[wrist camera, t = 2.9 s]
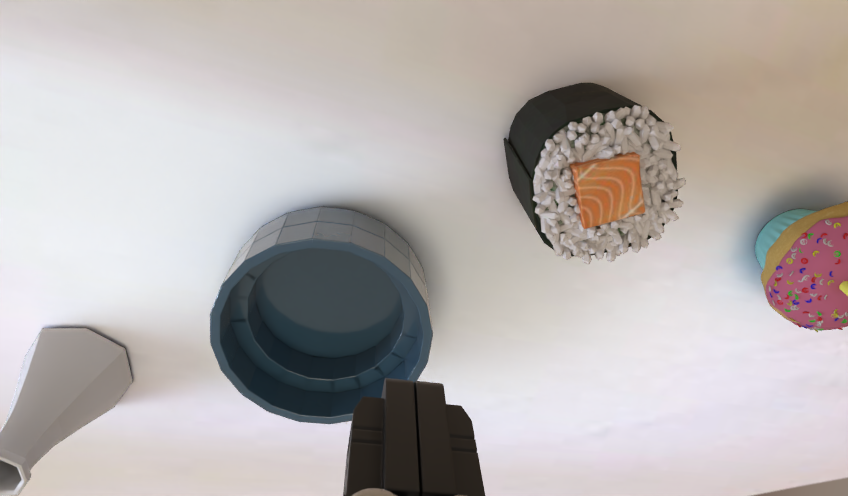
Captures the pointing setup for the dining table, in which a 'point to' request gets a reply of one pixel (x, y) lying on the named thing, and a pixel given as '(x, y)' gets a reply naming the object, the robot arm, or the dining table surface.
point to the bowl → (321, 314)
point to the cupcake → (807, 266)
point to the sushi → (593, 171)
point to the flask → (58, 397)
